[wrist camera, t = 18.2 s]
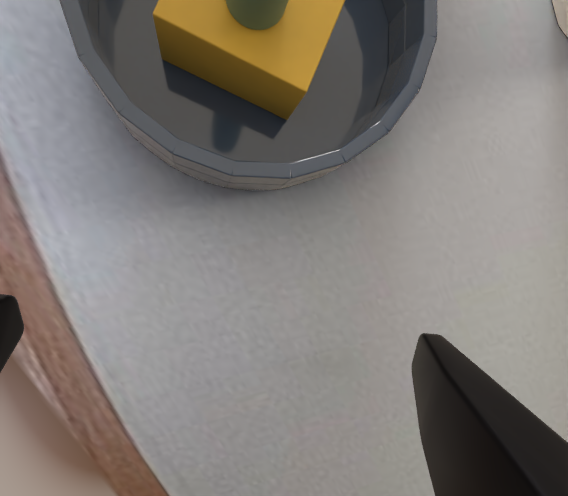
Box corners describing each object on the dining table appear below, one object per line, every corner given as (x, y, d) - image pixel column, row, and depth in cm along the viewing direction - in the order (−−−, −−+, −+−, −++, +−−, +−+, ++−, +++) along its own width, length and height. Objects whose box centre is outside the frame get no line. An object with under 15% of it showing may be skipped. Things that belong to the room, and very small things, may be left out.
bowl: (214, 251, 19) (218, 252, 15) (13, -28, 17) (-38, -104, 14) (445, 89, 21) (498, 55, 17) (288, -173, 20) (308, -272, 16)
